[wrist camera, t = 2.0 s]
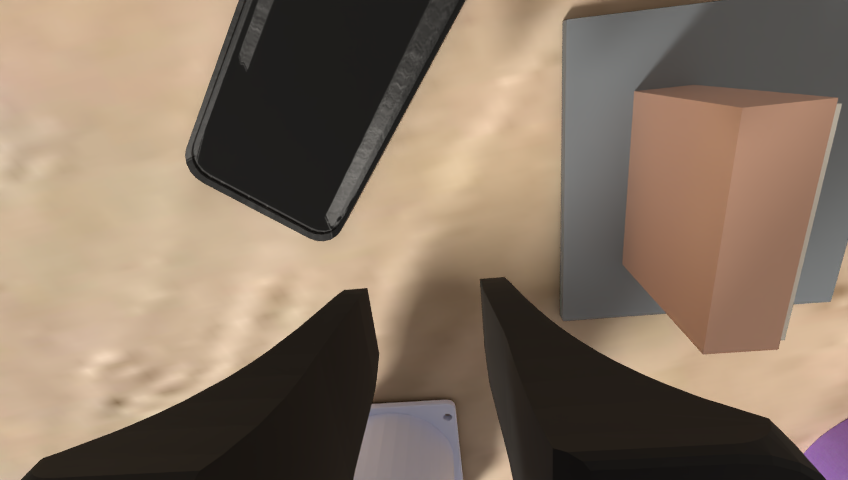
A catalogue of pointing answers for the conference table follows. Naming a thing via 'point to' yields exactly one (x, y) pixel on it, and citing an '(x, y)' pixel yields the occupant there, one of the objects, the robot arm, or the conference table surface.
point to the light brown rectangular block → (725, 207)
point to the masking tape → (831, 453)
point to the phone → (311, 102)
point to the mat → (671, 67)
